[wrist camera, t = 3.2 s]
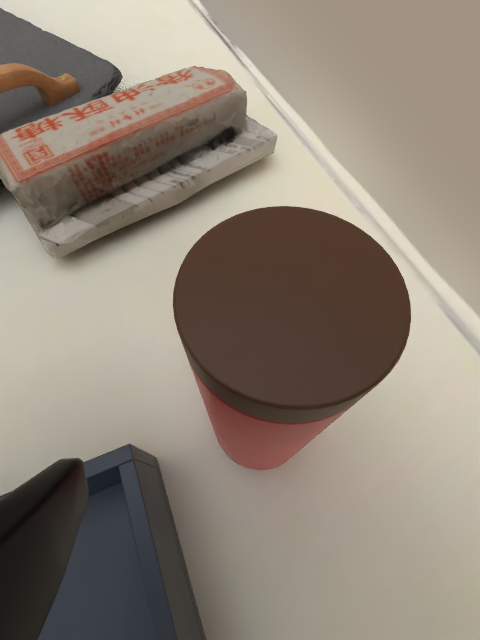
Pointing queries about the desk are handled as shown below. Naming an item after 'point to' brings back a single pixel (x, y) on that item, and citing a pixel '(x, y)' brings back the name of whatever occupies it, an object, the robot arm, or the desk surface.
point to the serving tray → (46, 74)
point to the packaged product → (129, 155)
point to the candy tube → (287, 326)
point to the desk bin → (125, 560)
